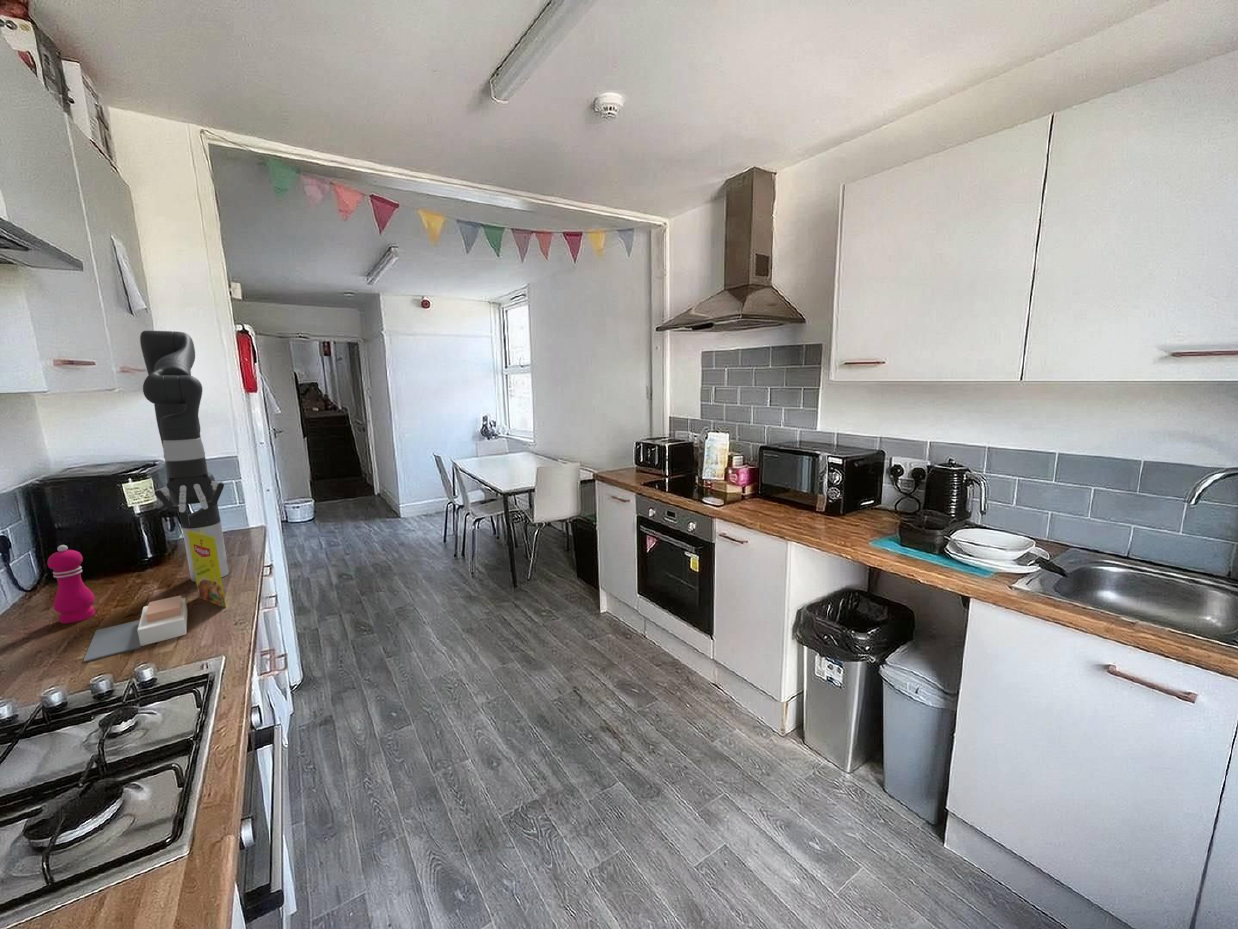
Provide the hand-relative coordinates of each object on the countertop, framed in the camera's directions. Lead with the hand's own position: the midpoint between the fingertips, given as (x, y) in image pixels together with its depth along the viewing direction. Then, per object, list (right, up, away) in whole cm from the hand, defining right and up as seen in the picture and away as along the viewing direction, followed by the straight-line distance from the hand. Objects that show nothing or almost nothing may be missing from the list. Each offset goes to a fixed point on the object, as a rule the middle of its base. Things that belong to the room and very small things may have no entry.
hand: (196, 524), depth 123 cm
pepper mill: (-35, -25, +5) cm, 44 cm away
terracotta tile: (-6, -22, -2) cm, 23 cm away
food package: (-7, -24, +13) cm, 28 cm away
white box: (-7, -26, -1) cm, 27 cm away
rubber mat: (-13, -27, -7) cm, 31 cm away
